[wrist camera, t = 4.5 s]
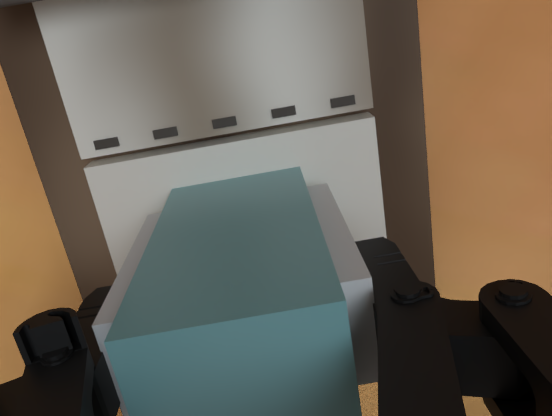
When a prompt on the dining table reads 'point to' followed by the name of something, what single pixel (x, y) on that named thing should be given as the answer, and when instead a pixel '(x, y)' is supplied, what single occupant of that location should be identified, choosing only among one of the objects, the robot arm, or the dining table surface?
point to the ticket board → (211, 94)
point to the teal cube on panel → (238, 270)
